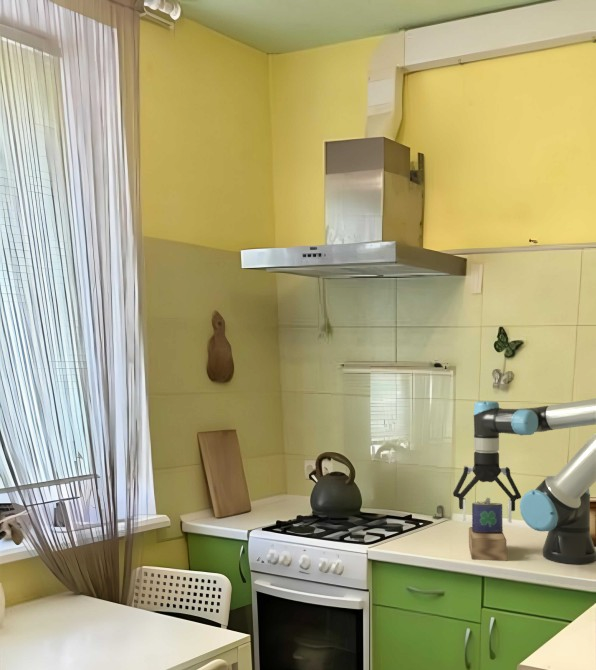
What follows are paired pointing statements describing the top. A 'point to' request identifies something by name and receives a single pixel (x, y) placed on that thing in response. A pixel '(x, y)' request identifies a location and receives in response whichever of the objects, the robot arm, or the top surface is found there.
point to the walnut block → (487, 546)
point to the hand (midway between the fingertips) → (486, 520)
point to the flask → (487, 517)
